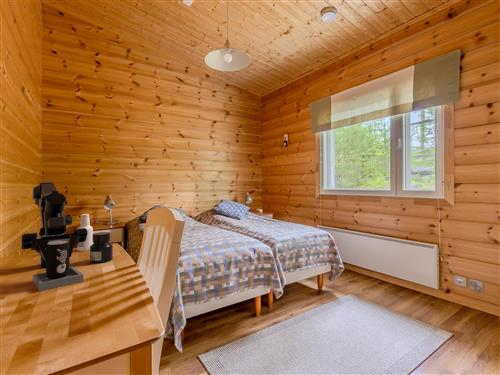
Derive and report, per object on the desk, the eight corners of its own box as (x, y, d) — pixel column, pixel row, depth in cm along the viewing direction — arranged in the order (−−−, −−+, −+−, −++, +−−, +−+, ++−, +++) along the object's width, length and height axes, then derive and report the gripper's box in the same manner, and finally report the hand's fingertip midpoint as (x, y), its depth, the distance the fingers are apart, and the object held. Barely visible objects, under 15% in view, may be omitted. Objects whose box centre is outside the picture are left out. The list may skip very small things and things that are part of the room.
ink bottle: (86, 260, 115) (86, 233, 115) (107, 256, 122) (107, 230, 122) (94, 265, 109) (94, 236, 109) (116, 260, 116) (116, 233, 116)
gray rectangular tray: (32, 281, 90) (32, 274, 90) (73, 273, 99) (73, 266, 99) (39, 291, 82) (39, 283, 82) (83, 281, 91) (83, 274, 91)
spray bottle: (81, 248, 137) (81, 213, 137) (95, 247, 138) (95, 213, 137) (74, 251, 130) (74, 215, 130) (88, 251, 131) (88, 215, 130)
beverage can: (50, 281, 86) (49, 245, 86) (43, 276, 90) (43, 242, 90) (72, 275, 92) (72, 241, 91) (65, 271, 96) (65, 239, 95)
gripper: (21, 209, 87) (23, 249, 79) (86, 206, 100) (93, 240, 92) (20, 229, 93) (22, 268, 85) (82, 224, 106) (88, 258, 98)
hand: (58, 258), depth 90 cm, fingers closed on beverage can, 6 cm apart
